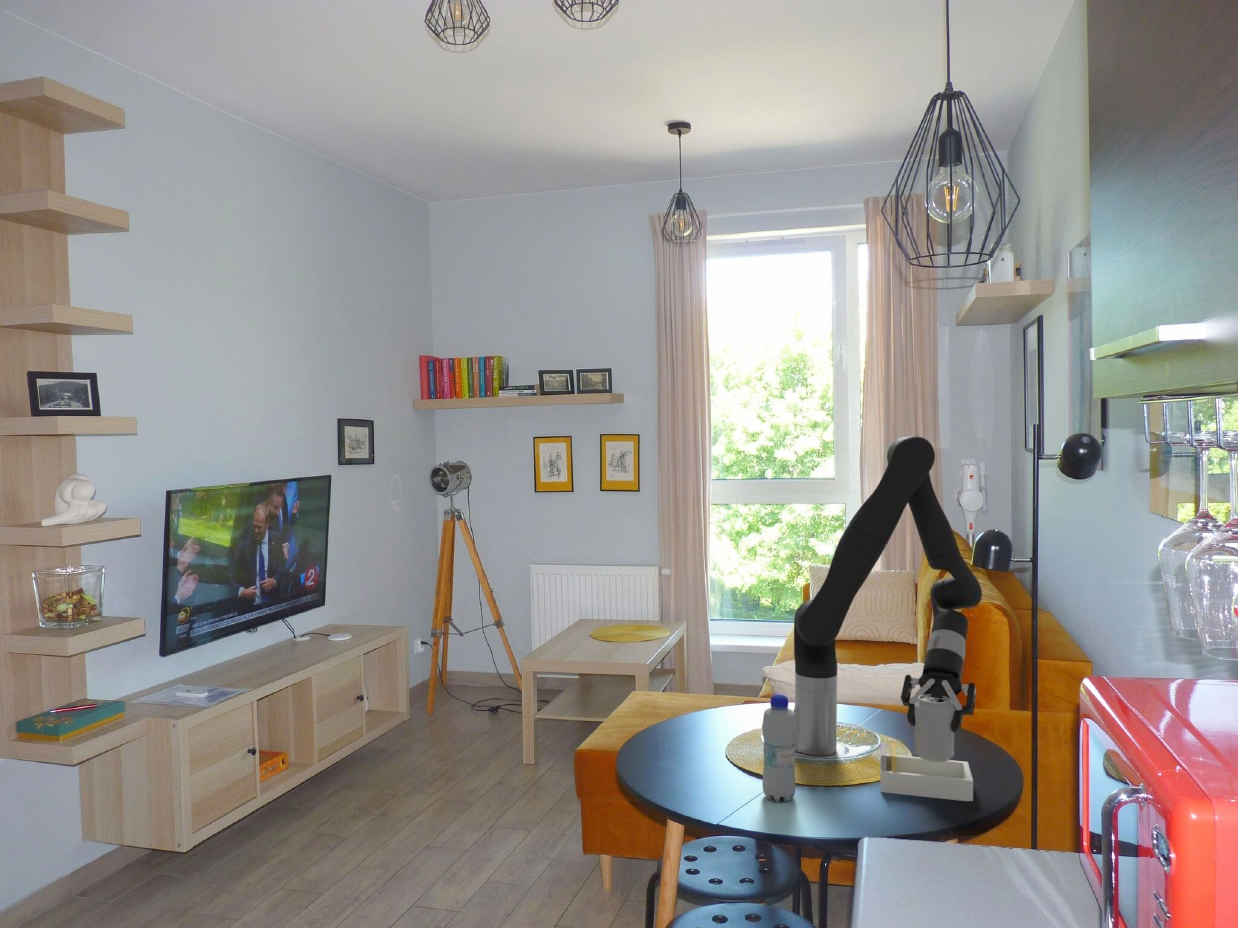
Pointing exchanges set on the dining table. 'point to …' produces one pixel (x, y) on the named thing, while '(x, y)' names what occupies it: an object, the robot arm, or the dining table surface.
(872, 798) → the dining table surface
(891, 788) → the white open box
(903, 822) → the dining table surface
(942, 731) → the can
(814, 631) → the robot arm
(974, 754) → the dining table surface
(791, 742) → the bottle
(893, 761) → the pusher paddle
